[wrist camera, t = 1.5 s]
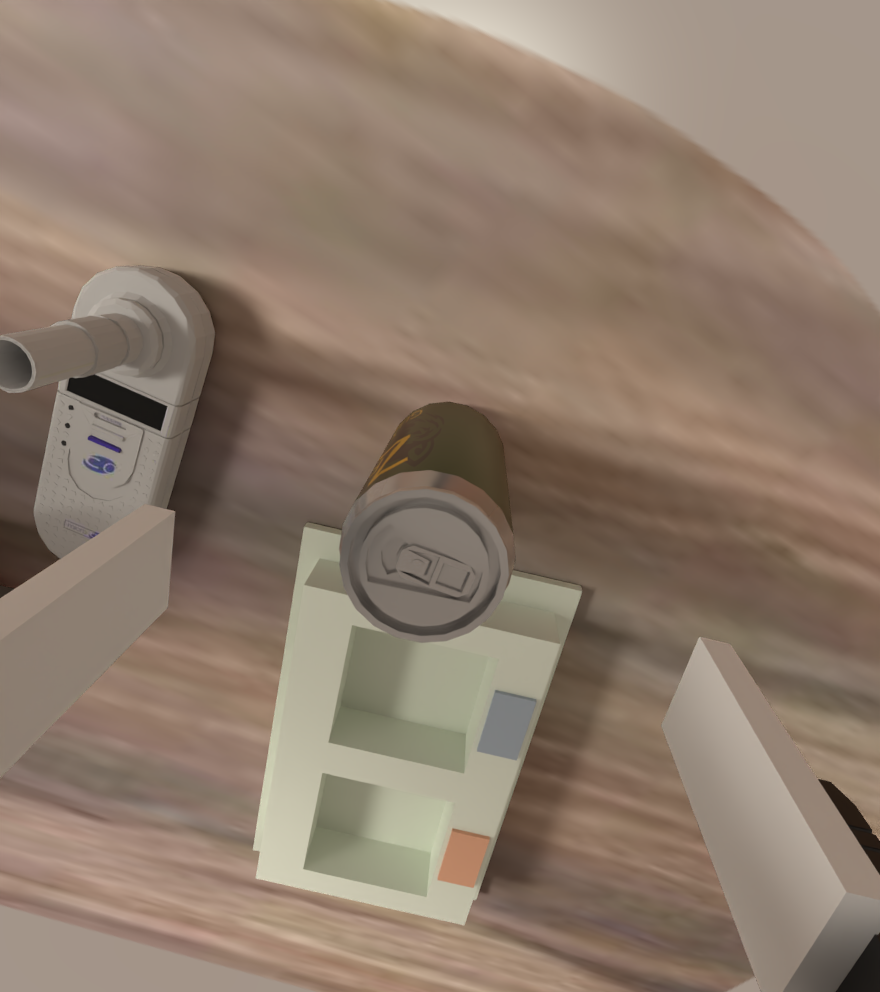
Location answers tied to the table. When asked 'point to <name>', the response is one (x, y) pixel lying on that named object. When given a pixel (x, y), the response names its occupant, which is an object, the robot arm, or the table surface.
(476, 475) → the beer can
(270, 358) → the table surface
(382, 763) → the socket board
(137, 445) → the electronic device
